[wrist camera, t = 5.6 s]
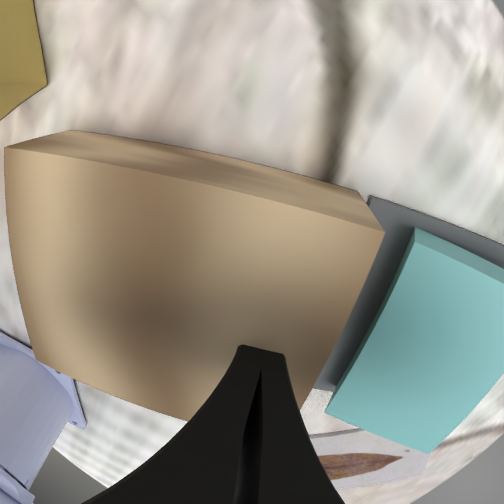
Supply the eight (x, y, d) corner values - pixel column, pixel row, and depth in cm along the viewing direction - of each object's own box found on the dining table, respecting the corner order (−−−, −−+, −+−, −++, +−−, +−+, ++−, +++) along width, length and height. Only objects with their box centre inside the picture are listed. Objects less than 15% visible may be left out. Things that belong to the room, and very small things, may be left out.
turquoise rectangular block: (428, 454, 12) (431, 426, 13) (547, 307, 8) (533, 284, 9) (324, 412, 14) (336, 386, 15) (415, 241, 10) (414, 226, 11)
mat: (294, 380, 16) (294, 384, 16) (370, 195, 11) (372, 197, 11) (421, 399, 16) (422, 402, 15) (514, 250, 11) (517, 253, 11)
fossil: (239, 495, 23) (199, 448, 19) (240, 485, 24) (202, 434, 20) (422, 474, 20) (447, 418, 15) (420, 463, 21) (442, 404, 17)
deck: (74, 314, 16) (35, 360, 12) (70, 130, 12) (4, 147, 8) (285, 378, 16) (280, 442, 12) (357, 191, 11) (384, 232, 8)
